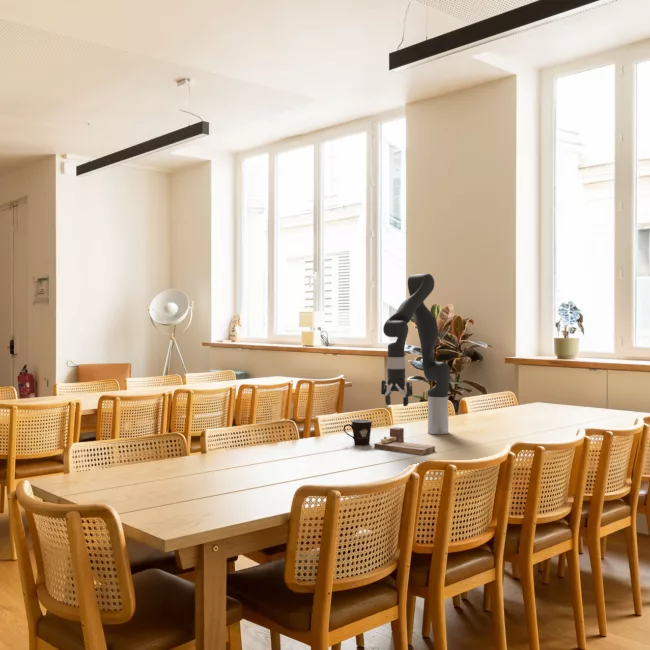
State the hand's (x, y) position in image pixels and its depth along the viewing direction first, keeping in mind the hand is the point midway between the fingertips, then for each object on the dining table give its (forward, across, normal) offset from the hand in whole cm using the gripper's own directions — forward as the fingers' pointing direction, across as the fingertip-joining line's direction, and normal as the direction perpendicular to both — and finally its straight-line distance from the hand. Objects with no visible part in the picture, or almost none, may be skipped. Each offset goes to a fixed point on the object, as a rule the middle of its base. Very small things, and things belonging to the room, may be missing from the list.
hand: (396, 405), depth 305 cm
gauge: (+17, 0, +4) cm, 17 cm away
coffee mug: (+17, +14, +9) cm, 24 cm away
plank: (+17, -8, +8) cm, 20 cm away
